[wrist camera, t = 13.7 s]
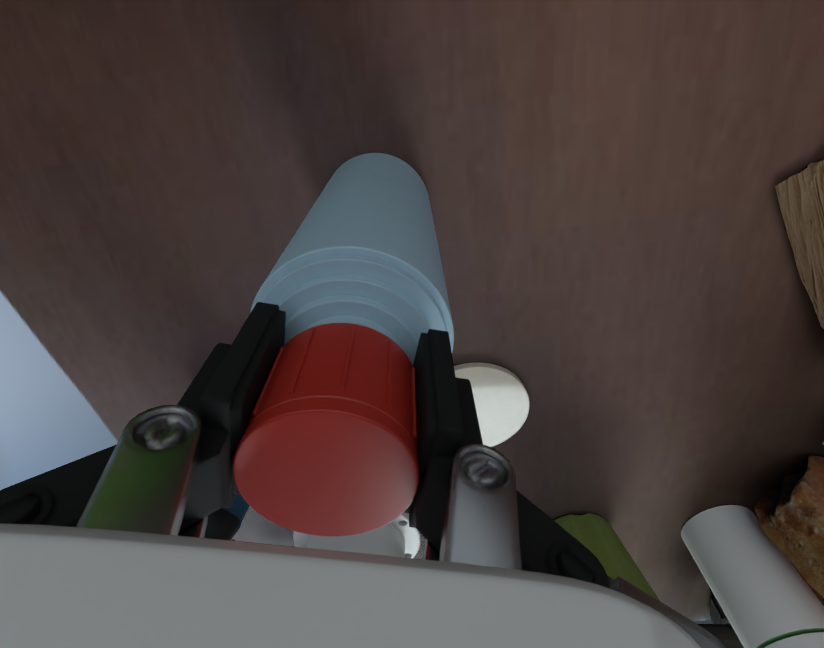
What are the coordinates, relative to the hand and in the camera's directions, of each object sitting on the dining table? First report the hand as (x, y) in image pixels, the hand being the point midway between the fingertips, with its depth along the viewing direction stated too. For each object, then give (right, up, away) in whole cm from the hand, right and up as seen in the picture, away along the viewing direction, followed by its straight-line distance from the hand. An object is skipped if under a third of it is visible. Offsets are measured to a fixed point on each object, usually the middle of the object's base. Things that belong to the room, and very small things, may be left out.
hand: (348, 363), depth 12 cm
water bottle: (0, +8, +14) cm, 16 cm away
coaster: (+7, -6, +23) cm, 25 cm away
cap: (0, 0, 0) cm, 1 cm away
